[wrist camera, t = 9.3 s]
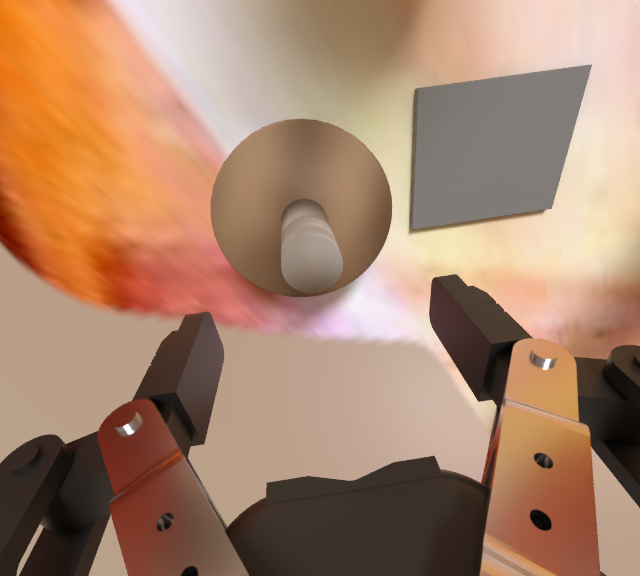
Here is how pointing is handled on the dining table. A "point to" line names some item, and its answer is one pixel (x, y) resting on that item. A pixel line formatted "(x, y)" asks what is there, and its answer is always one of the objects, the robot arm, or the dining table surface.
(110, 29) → the dining table surface
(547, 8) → the dining table surface
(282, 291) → the lid
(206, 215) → the dining table surface
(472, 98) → the mat
